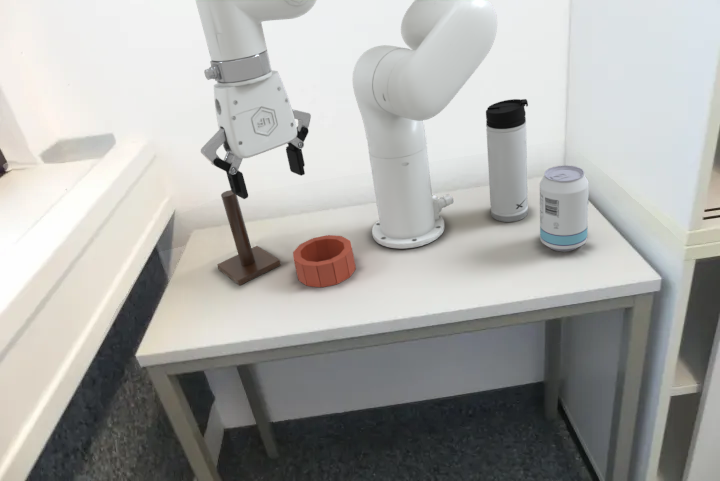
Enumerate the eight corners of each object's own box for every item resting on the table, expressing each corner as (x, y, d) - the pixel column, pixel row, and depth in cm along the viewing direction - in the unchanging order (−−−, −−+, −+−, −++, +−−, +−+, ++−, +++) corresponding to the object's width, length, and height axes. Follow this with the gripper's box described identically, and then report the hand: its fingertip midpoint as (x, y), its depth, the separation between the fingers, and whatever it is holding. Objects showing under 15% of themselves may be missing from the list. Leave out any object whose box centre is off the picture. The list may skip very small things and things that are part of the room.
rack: (258, 250, 107) (238, 178, 101) (281, 265, 101) (261, 190, 95) (218, 269, 103) (195, 196, 97) (239, 285, 98) (216, 209, 91)
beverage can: (596, 248, 91) (598, 175, 85) (553, 259, 90) (554, 186, 84) (572, 229, 97) (573, 160, 91) (532, 239, 96) (531, 170, 90)
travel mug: (530, 221, 101) (528, 106, 92) (490, 223, 103) (484, 110, 93) (529, 205, 106) (527, 94, 97) (491, 206, 108) (485, 98, 98)
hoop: (333, 250, 103) (329, 229, 101) (366, 268, 96) (363, 246, 94) (287, 273, 99) (282, 252, 97) (319, 294, 92) (314, 272, 90)
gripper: (194, 89, 74) (229, 213, 82) (310, 54, 82) (332, 170, 90) (172, 82, 79) (207, 199, 87) (283, 50, 87) (305, 160, 96)
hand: (270, 184), depth 89 cm, fingers open, 9 cm apart
